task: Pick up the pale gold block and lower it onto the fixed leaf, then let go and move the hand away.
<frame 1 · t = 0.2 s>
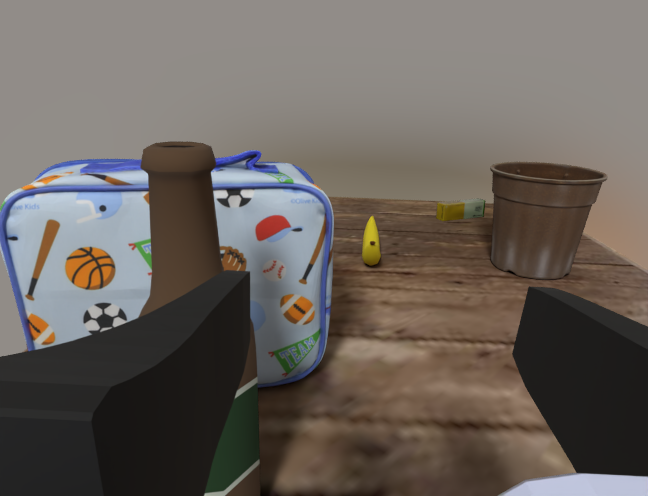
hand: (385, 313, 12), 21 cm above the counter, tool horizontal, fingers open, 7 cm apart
plant pot: (527, 267, 74), on the counter
lunch box: (200, 373, 44), on the counter
medication box: (459, 218, 102), on the counter
banana: (370, 260, 75), on the counter
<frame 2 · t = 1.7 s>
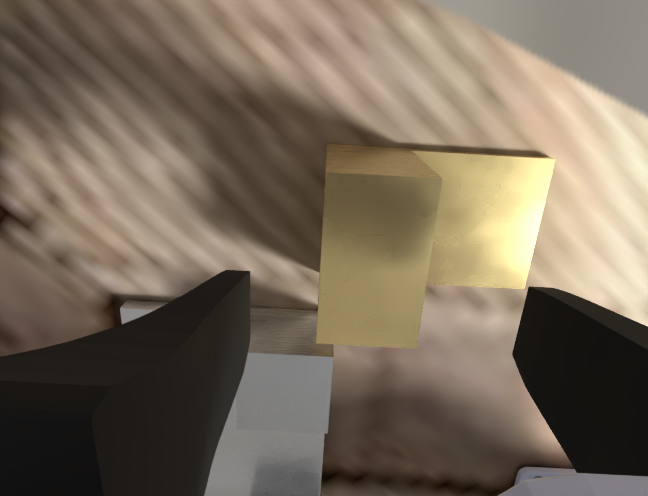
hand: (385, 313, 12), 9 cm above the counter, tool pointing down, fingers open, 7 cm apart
fixed leaf: (233, 434, 25), on the counter
pale gold block: (361, 213, 20), on the counter
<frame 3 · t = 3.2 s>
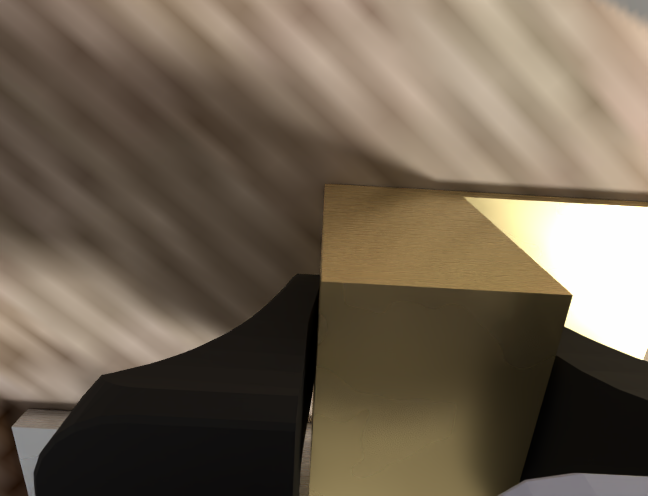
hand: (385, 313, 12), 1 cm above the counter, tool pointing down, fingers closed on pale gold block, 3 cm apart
pale gold block: (379, 289, 13), on the counter, touching gripper
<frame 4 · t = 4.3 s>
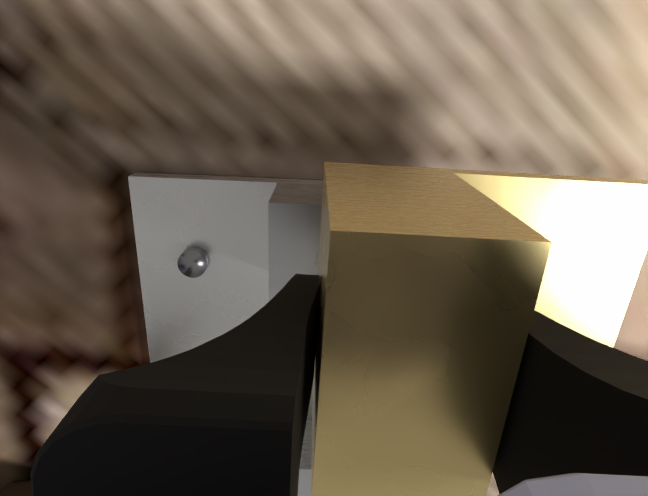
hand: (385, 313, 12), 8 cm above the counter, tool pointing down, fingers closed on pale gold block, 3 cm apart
fixed leaf: (257, 340, 22), on the counter
pale gold block: (375, 263, 14), point 6 cm above the counter, touching gripper
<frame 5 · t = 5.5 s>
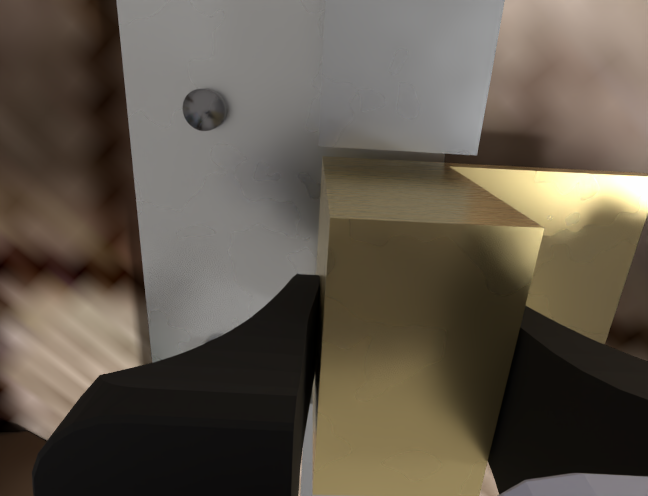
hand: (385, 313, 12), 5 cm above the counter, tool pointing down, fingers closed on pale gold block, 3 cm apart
beer bottle: (24, 484, 21), on the counter
fixed leaf: (287, 241, 16), on the counter
pale gold block: (373, 256, 14), point 2 cm above the counter, touching gripper
when the fingers open (4 cm above the counter, at t = 6.1 s): pale gold block stays where it is, resting on fixed leaf.
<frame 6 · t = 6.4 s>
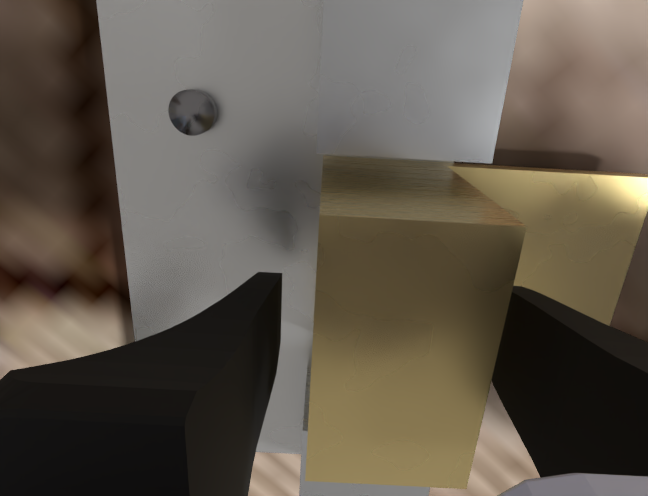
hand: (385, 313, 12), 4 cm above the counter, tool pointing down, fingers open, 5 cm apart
fixed leaf: (283, 252, 15), on the counter
pale gold block: (373, 253, 14), point 1 cm above the counter, touching fixed leaf
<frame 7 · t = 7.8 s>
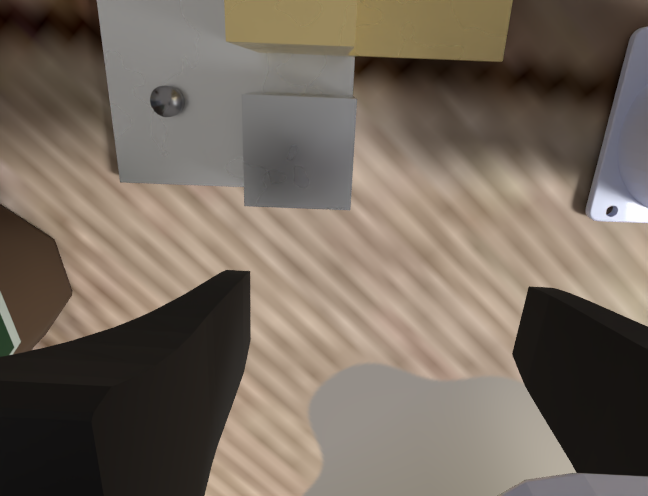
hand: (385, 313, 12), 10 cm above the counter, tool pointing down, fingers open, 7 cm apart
beer bottle: (1, 270, 22), on the counter
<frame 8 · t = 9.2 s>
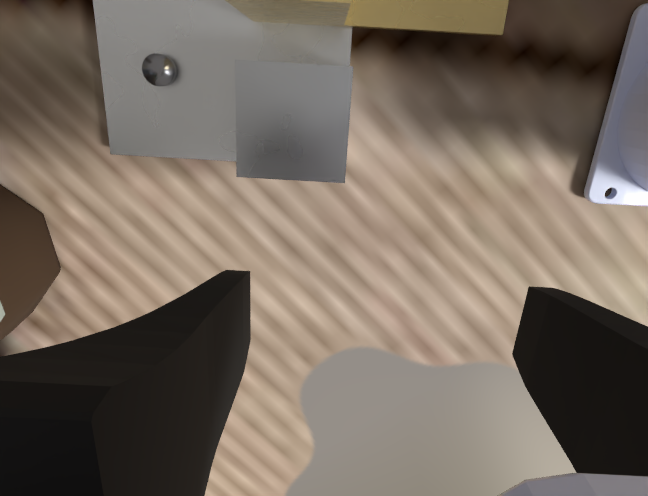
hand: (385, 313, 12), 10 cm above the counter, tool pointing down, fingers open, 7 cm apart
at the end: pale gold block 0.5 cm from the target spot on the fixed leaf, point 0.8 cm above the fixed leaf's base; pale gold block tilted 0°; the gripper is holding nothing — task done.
